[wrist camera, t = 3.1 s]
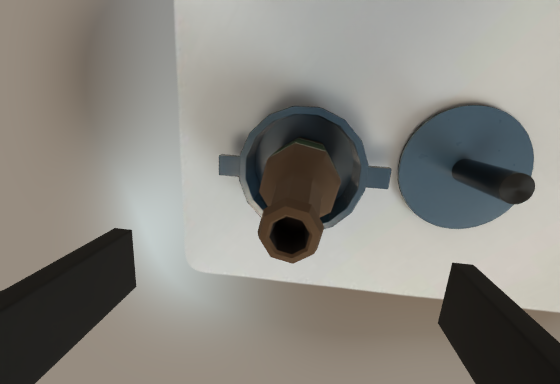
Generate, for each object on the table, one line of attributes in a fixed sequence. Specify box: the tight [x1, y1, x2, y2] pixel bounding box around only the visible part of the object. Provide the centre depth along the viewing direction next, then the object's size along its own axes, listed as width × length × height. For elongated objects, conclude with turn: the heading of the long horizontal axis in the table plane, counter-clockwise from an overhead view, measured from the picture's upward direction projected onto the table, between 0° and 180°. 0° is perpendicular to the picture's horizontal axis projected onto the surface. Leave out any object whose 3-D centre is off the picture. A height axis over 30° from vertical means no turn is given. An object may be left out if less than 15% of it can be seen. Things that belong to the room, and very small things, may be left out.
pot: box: [219, 106, 391, 229], centre depth 35 cm, size 15×20×6 cm
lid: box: [398, 105, 535, 229], centre depth 31 cm, size 16×16×11 cm
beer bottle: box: [258, 137, 341, 263], centre depth 27 cm, size 8×8×24 cm
